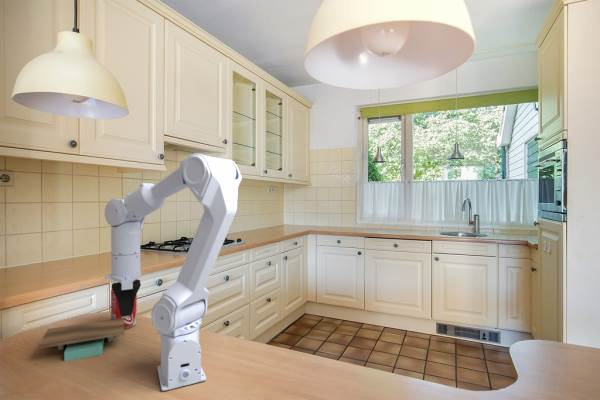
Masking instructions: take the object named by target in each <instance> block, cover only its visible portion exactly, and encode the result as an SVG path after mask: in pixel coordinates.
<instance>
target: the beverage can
mask: <svg viewBox="0 0 600 400" xmlns="http://www.w3.org/2000/svg"><path fill="white" fill-rule="evenodd" d="M116 283H118V282H117V281H116ZM137 295H138V293H137V294H136V298H135V302H134V308H133V312H132V315H130V316H124V317H121V315H120V311H119V306H118V301H117V298H116V295H115V293H114V292H113V290H112V288H110V320H113V319H120V318H124V330H127V329H130V328H133V326H134V325H136V324H137V322H138V321H137V320H138V319H137V318H138V316H137V315H138V313H137V312H138V311H137V309H138V308H137V307H138V305H137V304H138V303H137V302H138V300H137V298H138V296H137Z"/></svg>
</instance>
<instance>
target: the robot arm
mask: <svg viewBox="0 0 600 400" xmlns="http://www.w3.org/2000/svg"><path fill="white" fill-rule="evenodd" d="M242 180H243V177H242V174H241V172H240V169H239V168H238V165H237V164H236V163H235V161H233V160H232V159H229V158H221V157H215V156H209V155H205V154H202V153H192V154H190V155H189V156H188V157H187V158H184V159H181V160H180V162H179V166H178V167H176V169H174V170H173V171H171V172H169V174H167V175H166V176H164V177H163V178H162V179H160V180H159V181H158V182H157V183H152V182H151V183H149V182H148V183H147V182H142V183H140V184H139V188H137V189H136V190H134V191H132V192H131V193H130V192H129V193H127V194H125V196H124V197H123V198H120V199H119V198H113V197H112V198H111V199H110V200H109V201H108V202H107V203H106V205H105V208H104V217H105V220H106V222H107V224H108V225H110V237H111V238H110V241H111V243H110V245H111V246H110V249H111V251H110V254H111V257H110V258H111V259H110V260H111V261H110V263H111V265H110V267H111V268H110V269H111V270H110V272H111V273H108V274H105V276H104V279H105V280H111V281H114V282H113V283H111V289H112V290H113V292H114V293H115V295H116V298H117V301H118V306H119V311H120V315H121V317H124V316H130V315H132V312H133V308H134V302H135V298H136V294H137V295H138V292H139V291H140V288H141V287H142V286H141V285H142V283H141V280H140V279H139V278H140V277H142V274H143V273H142V271H141V270H142V269H141V232H142V231H143V230H144V223H145V221H146V218H147V216H148V215H150V214H152V213H153V212H156V211H157V210H159V209H161V208H162V207H163V206H164V205H165V203H166V199H167V198H169V197H171V196H173V195H175V194H177V193H179V192H180V191H183V190H185V189H187V188H189V190H190V191H191V192H192V194H193V196H194V197H195V199H196V200H197V201H198V202H199V204H201V205H202V207H203V209H204V211H203V213H202V216H201V219H200V221H199V224H198V227H197V228H196V231H195V234H194V236H193V239H192V242H191V243H190V246H189V248H188V250H187V254H186V256H185V259H184V260H183V261H184V262H183V263H182V266H181V269H180V271H179V273H178V275H177V278H176V280H175V282H174V283H173V284H171V286H169V287H168V288H167V289H166V290H164V292H163V293H162V295H161V297H160V299H159V300H158V301H157V302H156V303H155V304H154V305H153V306H152V308H151V312H150V313H151V317H150V318H151V323H152V325H153V327H154V328H155V330H156V331H157V333H158V334H160V365H158V366H157V367H156V369H157V374H158V379H159V383H160V385H159V386H160V390H161V391H163V392H165V391H169V390H173V389H177V388H180V387H184V386H189V385H192V384H196V383H200V382H201V383H202V382H205V381H206V380H207V376H206V373H205V371H204V370H203V367H202V347H201V345H200V325H202V319H203V318H204V317H205V316H206V314H207V311H208V300H209V298H210V295H211V293H210V291H209V290H208V289H207V287H206V284H207V283H208V281H209V279H210V276H211V273H212V271H213V268H214V266H215V264H216V261H217V259H218V257H219V254H220V252H221V250H222V247H223V245H224V242H225V240H226V237H227V235H228V232H229V230H230V229H231V226H232V224H233V221H234V219H235V216H236V214H237V210H238V197H239V194H238V193H239V191H238V190H239V187H240V184H241V182H242ZM117 282H118V283H117Z"/></svg>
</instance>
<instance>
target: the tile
mask: <svg viewBox="0 0 600 400" xmlns="http://www.w3.org/2000/svg"><path fill="white" fill-rule="evenodd" d="M104 343H105V338H101V339H95V340H89V341H83V342H77V343H71V344H66V348H65V350H64V352H63V353H64V354H63V356H64V358H63V359H64V360H63V362H69V361H73V360H79V359H83V358H84V359H85V358H89V357H95V356H100V355H103V350H104V345H105V344H104Z"/></svg>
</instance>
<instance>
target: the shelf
mask: <svg viewBox="0 0 600 400" xmlns="http://www.w3.org/2000/svg"><path fill="white" fill-rule="evenodd" d="M123 335H125V329H124V318H120V319H113V320H111V319H109V320H108V319H107V320H99V321H94V322H93V321H92V322H87V323H79V324H72V325H66V326H60V327H53V328H47V330H46V332H45V333H44V335H43V336H42V338H41V340H40V342H39V343H38V347H37V348H38V349H39V350H40V349H46V348H52V347H57V350H58V351H62V350H64V348H65V346H66V345H67V344H71V343H77V342H83V341H89V340H95V339H101V338H104V339H105V338H107V342H113V341H114V337H117V336H123Z"/></svg>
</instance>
